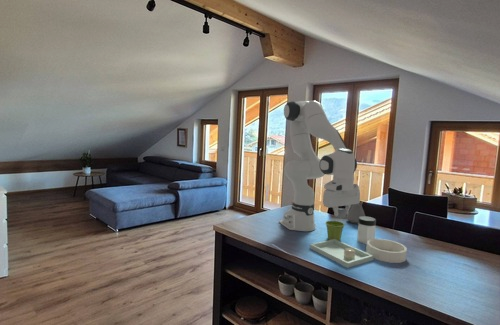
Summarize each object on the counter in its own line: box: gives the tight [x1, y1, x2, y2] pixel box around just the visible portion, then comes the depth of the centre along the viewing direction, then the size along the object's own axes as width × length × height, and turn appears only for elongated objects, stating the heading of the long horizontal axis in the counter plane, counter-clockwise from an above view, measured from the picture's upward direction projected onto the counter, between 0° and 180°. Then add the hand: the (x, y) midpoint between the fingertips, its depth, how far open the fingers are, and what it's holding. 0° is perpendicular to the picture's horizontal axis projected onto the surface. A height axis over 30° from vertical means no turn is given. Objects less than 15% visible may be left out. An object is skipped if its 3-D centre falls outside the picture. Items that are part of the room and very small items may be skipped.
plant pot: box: [325, 220, 345, 241], centre depth 149 cm, size 9×9×9 cm
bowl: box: [365, 238, 408, 264], centre depth 130 cm, size 16×16×5 cm
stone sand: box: [344, 248, 355, 260], centre depth 126 cm, size 4×4×4 cm
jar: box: [356, 215, 377, 246], centre depth 147 cm, size 9×8×12 cm
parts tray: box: [309, 239, 374, 269], centre depth 130 cm, size 22×16×2 cm
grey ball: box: [335, 207, 347, 220], centre depth 132 cm, size 4×4×4 cm
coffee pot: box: [346, 200, 366, 225], centre depth 184 cm, size 21×12×15 cm, turn 45°
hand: (341, 214), depth 132 cm, fingers closed on grey ball, 4 cm apart
